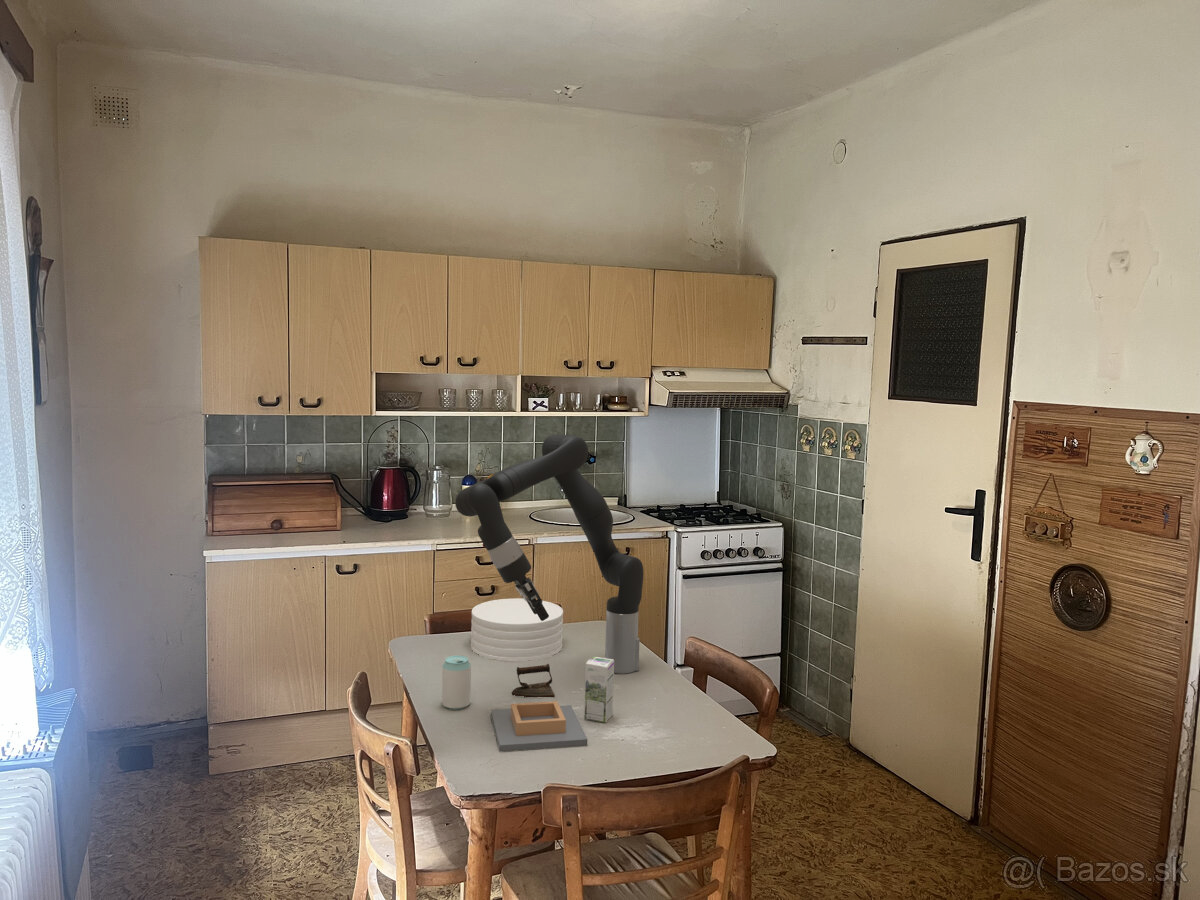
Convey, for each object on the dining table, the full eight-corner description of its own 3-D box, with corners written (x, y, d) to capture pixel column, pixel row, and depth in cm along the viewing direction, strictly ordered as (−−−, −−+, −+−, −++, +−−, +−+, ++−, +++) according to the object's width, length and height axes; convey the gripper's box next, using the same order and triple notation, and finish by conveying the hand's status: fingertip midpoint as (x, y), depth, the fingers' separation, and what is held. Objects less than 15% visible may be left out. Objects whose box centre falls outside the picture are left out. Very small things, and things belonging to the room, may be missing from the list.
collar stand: (570, 710, 212) (571, 693, 211) (587, 745, 192) (587, 726, 192) (490, 715, 207) (491, 698, 207) (499, 751, 188) (499, 732, 187)
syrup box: (613, 714, 210) (614, 658, 209) (605, 724, 204) (607, 665, 203) (591, 711, 212) (593, 655, 210) (583, 720, 206) (585, 662, 205)
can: (474, 701, 216) (475, 655, 215) (464, 712, 209) (465, 665, 208) (448, 698, 217) (449, 653, 216) (437, 708, 210) (438, 662, 209)
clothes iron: (557, 699, 221) (550, 664, 218) (515, 711, 218) (508, 677, 216) (552, 686, 227) (545, 653, 225) (511, 698, 225) (504, 665, 223)
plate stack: (485, 630, 276) (485, 595, 275) (569, 636, 272) (570, 601, 271) (459, 658, 248) (459, 620, 247) (552, 665, 245) (553, 627, 244)
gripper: (528, 554, 197) (561, 612, 199) (517, 547, 211) (548, 602, 213) (500, 571, 195) (534, 630, 197) (491, 563, 209) (523, 618, 211)
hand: (541, 615), depth 205 cm, fingers open, 8 cm apart
